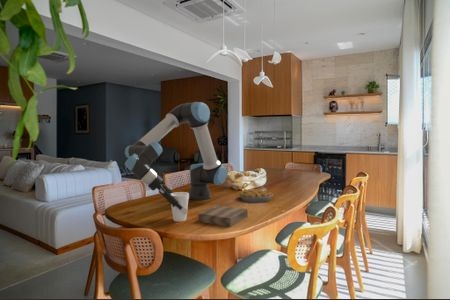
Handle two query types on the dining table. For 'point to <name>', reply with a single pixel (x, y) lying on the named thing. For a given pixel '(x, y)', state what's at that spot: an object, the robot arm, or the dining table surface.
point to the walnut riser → (223, 215)
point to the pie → (255, 195)
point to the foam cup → (183, 199)
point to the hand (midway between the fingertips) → (185, 210)
